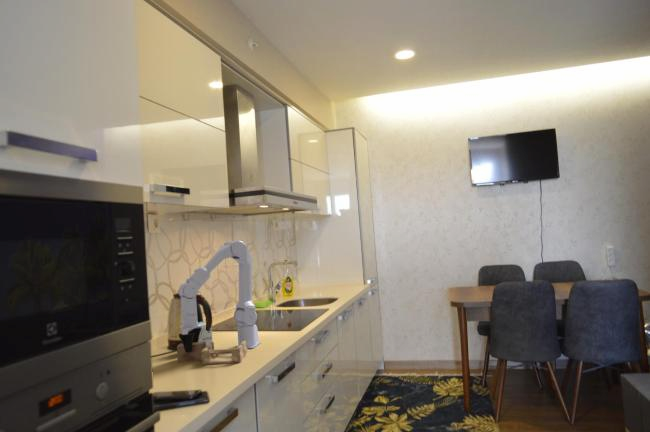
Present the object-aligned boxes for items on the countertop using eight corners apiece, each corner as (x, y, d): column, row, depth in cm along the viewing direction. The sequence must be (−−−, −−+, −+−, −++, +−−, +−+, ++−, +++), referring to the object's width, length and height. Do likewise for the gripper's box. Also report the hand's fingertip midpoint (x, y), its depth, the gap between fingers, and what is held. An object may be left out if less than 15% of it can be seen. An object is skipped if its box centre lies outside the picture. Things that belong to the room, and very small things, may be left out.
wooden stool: (211, 355, 185) (211, 342, 185) (247, 352, 185) (246, 339, 185) (202, 365, 171) (201, 351, 171) (240, 362, 171) (239, 348, 171)
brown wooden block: (177, 361, 179) (176, 346, 180) (181, 359, 183) (180, 343, 184) (203, 360, 179) (202, 344, 180) (206, 357, 183) (205, 341, 184)
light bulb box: (204, 346, 202) (202, 321, 202) (213, 348, 197) (212, 322, 198) (182, 352, 193) (180, 326, 194) (192, 354, 189) (190, 327, 189)
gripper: (185, 311, 189) (187, 345, 189) (172, 318, 175) (174, 355, 174) (202, 310, 189) (204, 344, 189) (191, 316, 175) (193, 353, 174)
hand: (191, 349), depth 181 cm, fingers open, 7 cm apart
